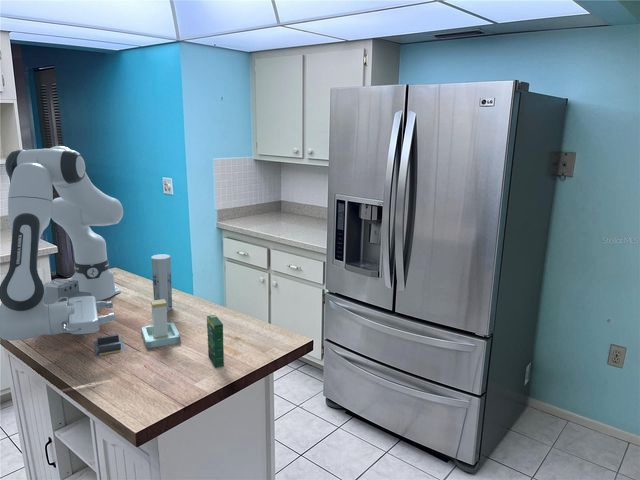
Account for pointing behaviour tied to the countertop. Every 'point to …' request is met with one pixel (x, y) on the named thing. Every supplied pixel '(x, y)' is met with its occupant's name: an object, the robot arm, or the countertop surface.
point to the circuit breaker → (62, 290)
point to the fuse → (159, 318)
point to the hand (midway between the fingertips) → (114, 310)
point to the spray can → (162, 278)
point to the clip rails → (108, 345)
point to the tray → (151, 342)
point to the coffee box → (215, 341)
